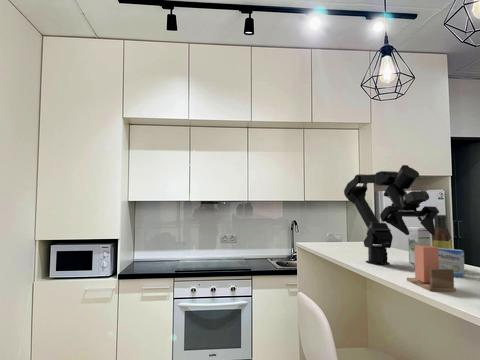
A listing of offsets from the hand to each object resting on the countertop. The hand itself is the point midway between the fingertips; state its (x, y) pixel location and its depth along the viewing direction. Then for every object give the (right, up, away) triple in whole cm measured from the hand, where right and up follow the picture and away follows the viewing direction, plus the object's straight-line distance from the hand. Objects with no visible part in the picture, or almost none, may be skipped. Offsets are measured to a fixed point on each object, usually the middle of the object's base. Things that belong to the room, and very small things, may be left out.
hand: (421, 234), depth 99 cm
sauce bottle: (+15, -15, +13) cm, 25 cm away
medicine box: (+12, -15, +5) cm, 20 cm away
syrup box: (+13, -16, +22) cm, 30 cm away
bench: (-3, -13, -10) cm, 17 cm away
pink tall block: (-3, -12, -9) cm, 15 cm away
